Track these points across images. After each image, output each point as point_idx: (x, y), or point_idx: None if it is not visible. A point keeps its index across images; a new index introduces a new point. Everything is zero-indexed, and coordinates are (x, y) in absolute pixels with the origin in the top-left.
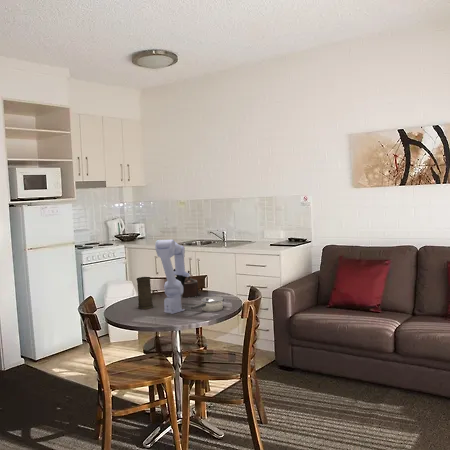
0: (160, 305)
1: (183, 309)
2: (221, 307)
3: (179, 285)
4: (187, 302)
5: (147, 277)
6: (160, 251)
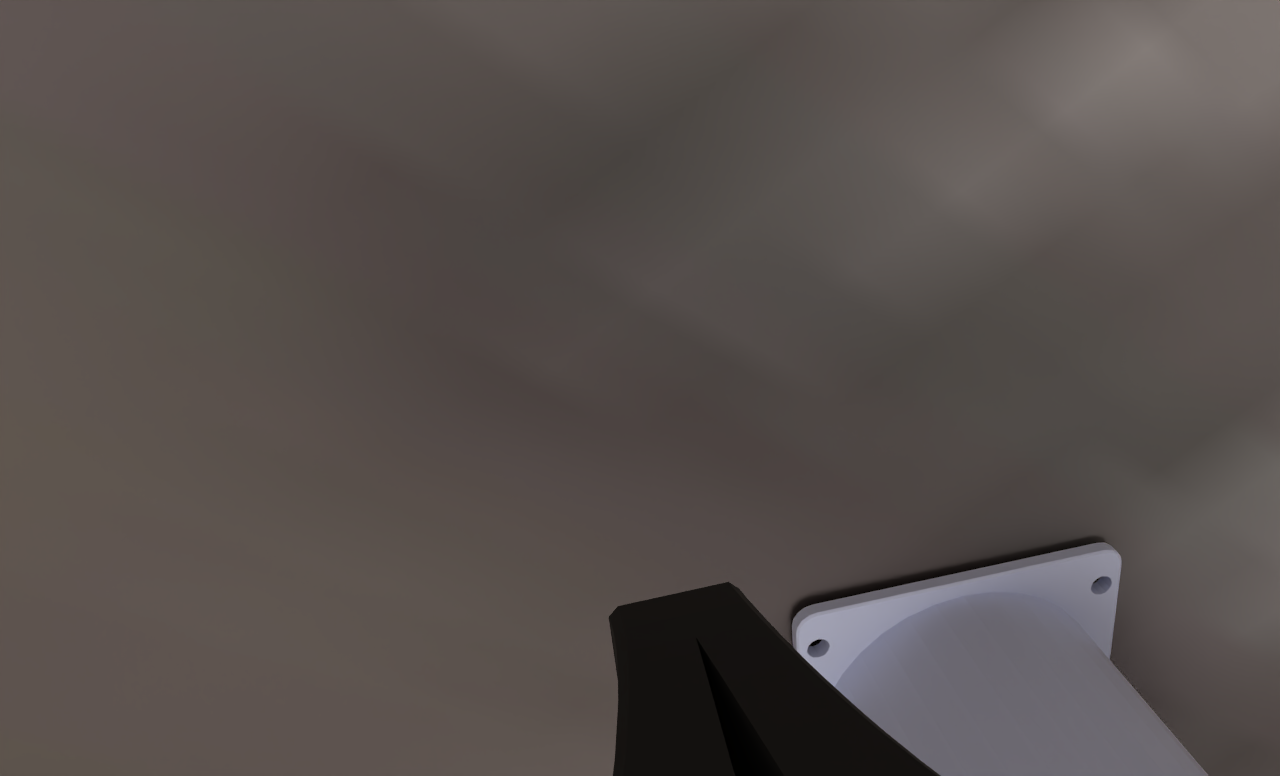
0: (100, 746)
1: (1086, 573)
2: None
3: None
4: (382, 3)
5: None
6: None
